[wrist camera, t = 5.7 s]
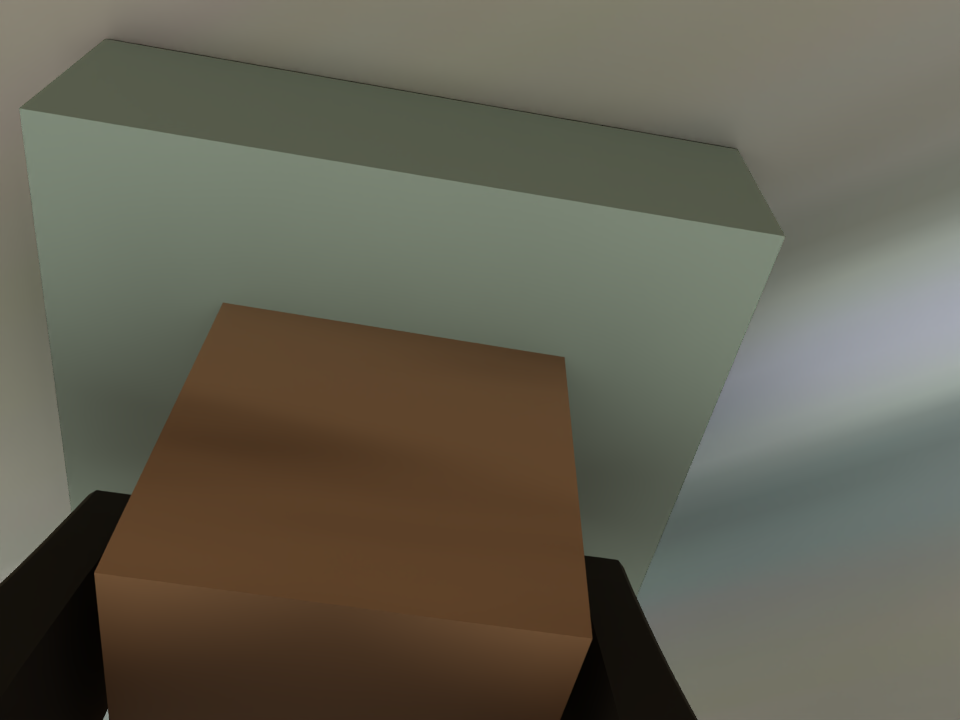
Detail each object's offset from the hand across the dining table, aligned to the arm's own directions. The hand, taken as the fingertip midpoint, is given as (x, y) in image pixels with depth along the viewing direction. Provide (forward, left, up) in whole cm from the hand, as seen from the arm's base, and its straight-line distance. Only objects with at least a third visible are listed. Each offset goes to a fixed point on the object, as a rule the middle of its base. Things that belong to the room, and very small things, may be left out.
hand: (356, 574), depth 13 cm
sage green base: (0, 0, -5) cm, 5 cm away
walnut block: (0, 0, -2) cm, 2 cm away
